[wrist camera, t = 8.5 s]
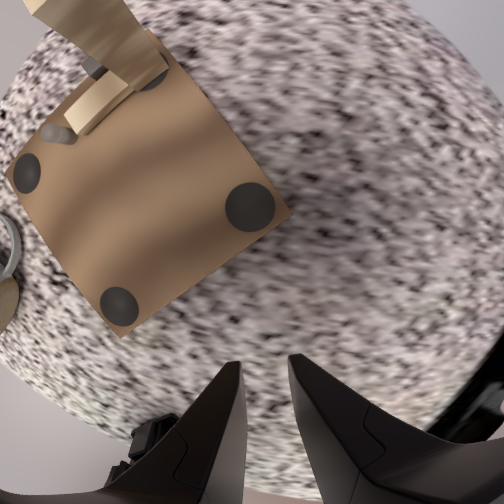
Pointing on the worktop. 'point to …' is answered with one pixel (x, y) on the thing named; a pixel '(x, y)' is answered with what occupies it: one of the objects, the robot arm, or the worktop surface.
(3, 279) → the ceramic mug
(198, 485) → the robot arm
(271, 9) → the worktop surface
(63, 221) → the stool seat
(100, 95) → the hinged leg
